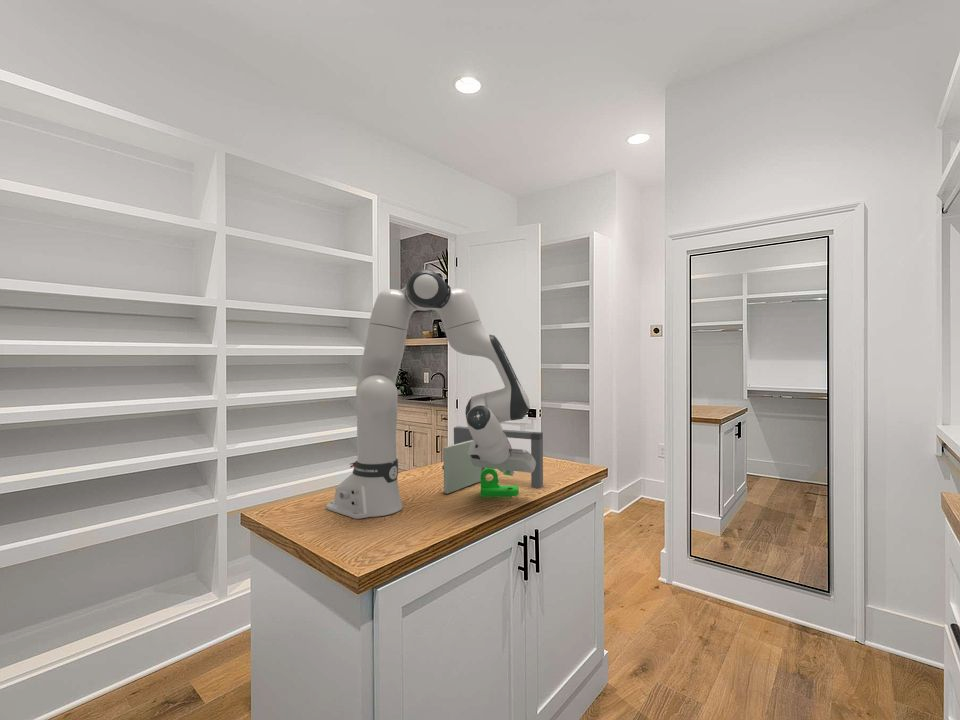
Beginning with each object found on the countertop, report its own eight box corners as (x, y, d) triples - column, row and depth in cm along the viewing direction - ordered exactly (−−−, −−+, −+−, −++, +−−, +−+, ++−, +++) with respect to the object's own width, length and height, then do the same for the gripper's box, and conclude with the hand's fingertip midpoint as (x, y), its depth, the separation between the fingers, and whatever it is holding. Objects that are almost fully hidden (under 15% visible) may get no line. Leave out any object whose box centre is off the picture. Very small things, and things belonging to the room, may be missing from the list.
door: (474, 479, 167) (474, 438, 167) (481, 480, 166) (481, 439, 165) (440, 491, 153) (439, 446, 153) (447, 493, 151) (446, 447, 151)
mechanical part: (480, 497, 149) (480, 472, 149) (480, 492, 155) (480, 467, 155) (519, 497, 149) (519, 472, 149) (517, 491, 155) (517, 467, 155)
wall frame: (454, 477, 172) (453, 427, 172) (458, 475, 175) (457, 426, 174) (540, 488, 157) (539, 433, 157) (543, 486, 160) (542, 432, 160)
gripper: (531, 442, 139) (543, 468, 148) (469, 437, 149) (483, 461, 157) (526, 460, 135) (538, 486, 144) (462, 454, 145) (477, 478, 154)
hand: (509, 473), depth 151 cm, fingers closed
